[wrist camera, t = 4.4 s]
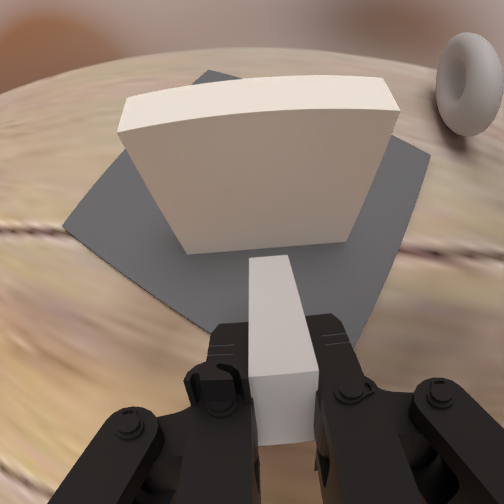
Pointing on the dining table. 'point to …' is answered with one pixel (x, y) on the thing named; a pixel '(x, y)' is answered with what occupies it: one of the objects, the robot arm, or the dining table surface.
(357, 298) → the mat
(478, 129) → the donut
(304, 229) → the board
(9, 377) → the dining table surface
